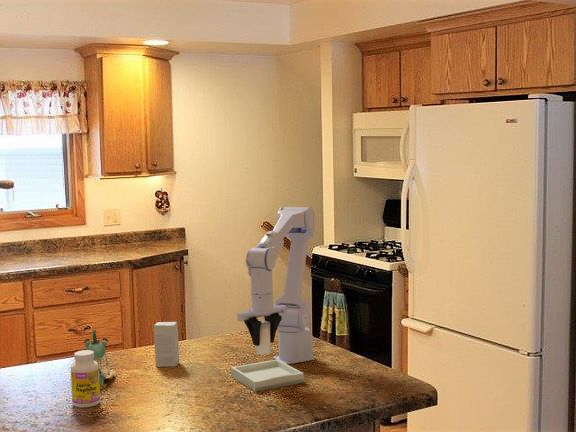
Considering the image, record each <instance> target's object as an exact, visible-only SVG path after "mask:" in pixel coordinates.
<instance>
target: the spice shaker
mask: <svg viewBox="0 0 576 432" xmlns="http://www.w3.org/2000/svg"><path fill="white" fill-rule="evenodd" d="M260 321H261V322H262V323H261V327H260V345H259V346H256V345H255V354H256V355H264V356H265V355H269V354H271V352H272V346H271V345H272V344H271V342H270V322H268V321H265V320H260Z"/></svg>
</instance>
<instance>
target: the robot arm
mask: <svg viewBox="0 0 576 432" xmlns="http://www.w3.org/2000/svg"><path fill="white" fill-rule="evenodd" d="M276 217H277V218H276V220H277V222H276V224H275V225H274V227H273V229H272V230H271V231H270V230H269V231H266V233H265V234H264V236H263V237H262V238H261V240H260V241H259V243H257V245H256V246H255V247H251V248H250V249H249V250H248V251H247V253H246V257H245V258H246V259H245V266H246V267H247V271H248V272H247V273H248V276H249V277H250V300H251V301H250V302H251V306H250V307H251V308H250V309H246V310H243V311H240V312H237V313H236V318H237V321H239V322H244V324H245V326H246V327H247V330H248V332H249V334H250V337H251V341H252V344H253V345H254V346H255V347H256V346H259V345H260V327H261V323H262V322H261V321H262V320H259V319H258V318H263V319H264V321H268V322H270V342H271V343H272V344H273V343H275V339H276V334H277V333H278V334H277V338H278V339H277V342H278V355H276V356H273V360H276V359H278V360H280V361H282V362H283V363H285V364H287V365H291V364H292V365H293V364H297V363H304V362H309V361H314V360H315V357H314V345H313V344H314V342H313V333H312V331H311V329H310V328H309V327H308V326H309V322H310V303H308V301H307V300H306V299H305V298H304V297H303V296H302V291H303V283H304V275H305V268H306V262H307V261H306V260H307V254H308V248H309V247H308V245H309V240H310V239H311V238H313V237H314V233H315V228H316V221H317V220H316V219H317V218H316V213H315V210H314V209H313V208H312V206H306V207H305V206H301V207H299V206H281V207H279V209H278V210H277V215H276ZM285 237H286V238H288V239H289V240H290V246H289V247H290V248H289V254H288V262H287V267H286V268H287V269H286V270H287V271H286V277H285V282H284V284H285V285H284V292H283V293H282V295H281V296H279V297H278V298H276V299H274V293H273V292H274V289H273V286H274V285H273V284H274V283H273V269H274V268H275V266H276V264H277V263H276V262H277V259H278V254H279V253H280V251H281V250H282V248H283V247H284V243H285V239H284V238H285Z"/></svg>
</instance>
